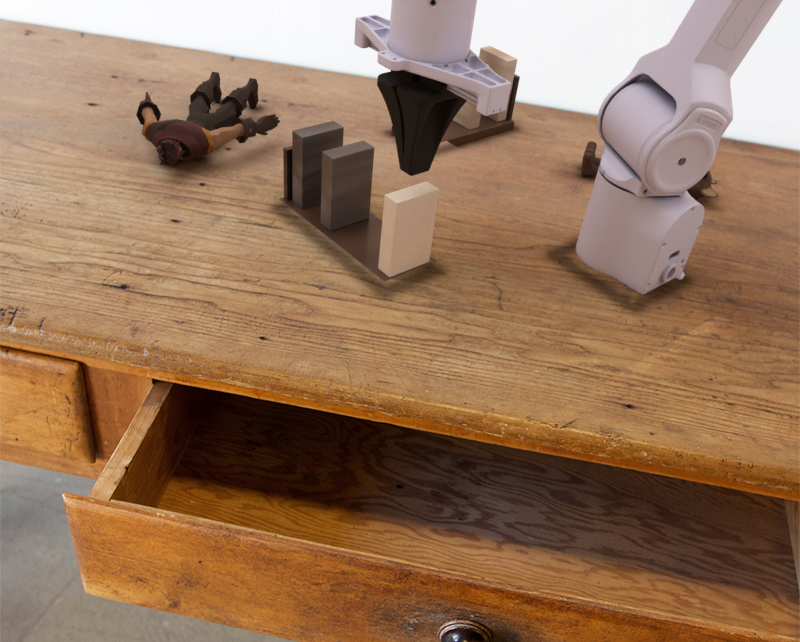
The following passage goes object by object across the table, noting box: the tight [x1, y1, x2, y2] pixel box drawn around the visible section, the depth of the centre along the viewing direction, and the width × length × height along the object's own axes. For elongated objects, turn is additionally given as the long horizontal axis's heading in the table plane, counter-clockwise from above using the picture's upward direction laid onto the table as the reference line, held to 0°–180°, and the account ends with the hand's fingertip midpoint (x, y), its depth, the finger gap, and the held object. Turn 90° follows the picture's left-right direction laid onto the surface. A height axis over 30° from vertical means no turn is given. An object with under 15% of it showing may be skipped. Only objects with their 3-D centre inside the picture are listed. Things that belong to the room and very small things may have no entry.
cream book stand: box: [390, 45, 521, 147], centre depth 86 cm, size 6×14×8 cm, turn 130°
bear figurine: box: [580, 140, 719, 200], centre depth 82 cm, size 18×4×14 cm
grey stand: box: [278, 120, 437, 283], centre depth 68 cm, size 16×6×8 cm, turn 40°
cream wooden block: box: [378, 180, 440, 277], centre depth 64 cm, size 2×4×7 cm, turn 130°
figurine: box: [135, 71, 281, 166], centre depth 80 cm, size 15×4×20 cm
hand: (414, 169), depth 60 cm, fingers closed
